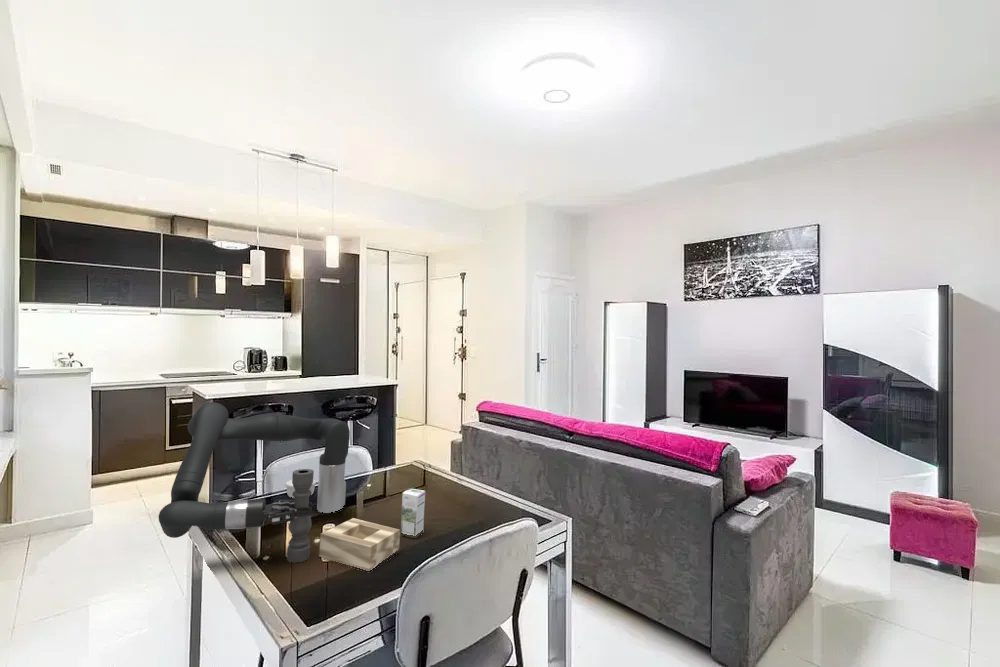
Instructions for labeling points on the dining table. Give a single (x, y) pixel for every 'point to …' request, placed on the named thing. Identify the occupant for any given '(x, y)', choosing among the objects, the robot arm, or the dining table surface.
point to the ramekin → (291, 489)
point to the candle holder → (300, 525)
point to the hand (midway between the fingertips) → (311, 508)
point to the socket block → (359, 543)
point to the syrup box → (412, 511)
